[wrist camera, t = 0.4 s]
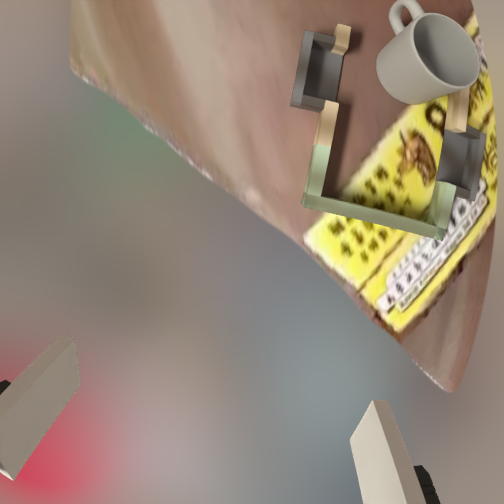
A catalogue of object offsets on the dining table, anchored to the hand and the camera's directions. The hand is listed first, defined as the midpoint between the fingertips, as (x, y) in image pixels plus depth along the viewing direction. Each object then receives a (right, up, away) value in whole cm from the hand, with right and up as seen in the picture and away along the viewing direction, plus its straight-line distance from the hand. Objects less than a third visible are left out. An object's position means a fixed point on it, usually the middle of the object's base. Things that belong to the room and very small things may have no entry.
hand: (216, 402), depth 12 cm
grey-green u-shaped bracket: (+18, +20, +21) cm, 35 cm away
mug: (+20, +30, +19) cm, 41 cm away
